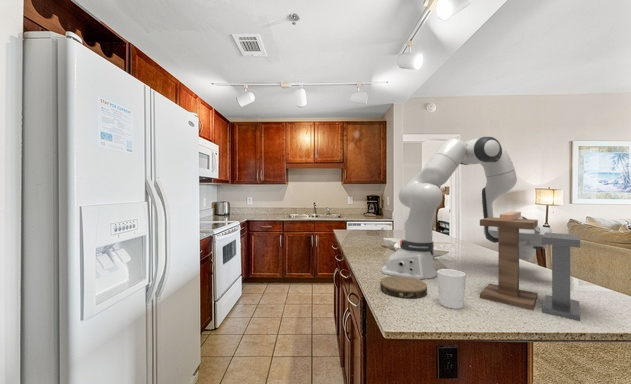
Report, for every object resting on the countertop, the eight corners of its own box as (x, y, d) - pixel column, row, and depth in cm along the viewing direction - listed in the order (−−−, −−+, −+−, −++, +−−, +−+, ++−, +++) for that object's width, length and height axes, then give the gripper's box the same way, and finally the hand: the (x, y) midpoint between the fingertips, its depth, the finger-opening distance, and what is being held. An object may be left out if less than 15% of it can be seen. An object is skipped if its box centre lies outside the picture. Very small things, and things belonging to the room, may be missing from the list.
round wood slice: (435, 292, 97) (435, 283, 97) (412, 303, 87) (412, 294, 87) (396, 281, 109) (396, 273, 109) (371, 290, 99) (371, 282, 99)
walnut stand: (489, 287, 101) (489, 217, 101) (537, 297, 92) (537, 219, 92) (479, 298, 91) (479, 219, 91) (533, 310, 81) (533, 222, 81)
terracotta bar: (511, 216, 104) (511, 211, 104) (520, 217, 102) (520, 211, 102) (499, 220, 88) (499, 214, 88) (511, 221, 86) (511, 215, 86)
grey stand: (545, 299, 90) (545, 232, 90) (579, 306, 85) (579, 234, 85) (542, 312, 80) (542, 237, 80) (580, 321, 74) (580, 240, 75)
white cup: (464, 312, 80) (464, 277, 80) (435, 306, 84) (435, 273, 84) (466, 303, 87) (466, 271, 87) (439, 297, 91) (439, 267, 91)
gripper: (491, 229, 121) (485, 214, 112) (552, 234, 107) (551, 218, 98) (490, 242, 119) (483, 228, 110) (552, 249, 105) (550, 234, 96)
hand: (516, 223), depth 104 cm, fingers open, 8 cm apart
